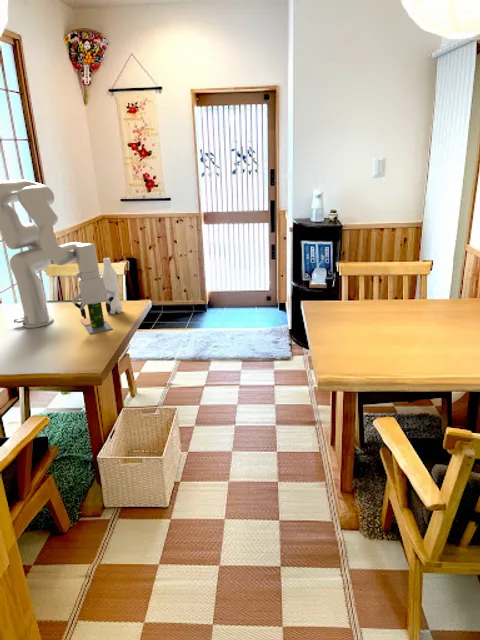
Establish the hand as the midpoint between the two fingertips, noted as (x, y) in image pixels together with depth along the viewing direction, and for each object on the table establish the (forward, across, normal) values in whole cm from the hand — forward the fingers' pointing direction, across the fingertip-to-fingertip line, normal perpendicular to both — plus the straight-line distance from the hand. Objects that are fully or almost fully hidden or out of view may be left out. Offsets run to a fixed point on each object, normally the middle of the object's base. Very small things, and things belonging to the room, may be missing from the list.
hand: (96, 315), depth 190 cm
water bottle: (+6, +11, +17) cm, 21 cm away
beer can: (+6, 0, 0) cm, 6 cm away
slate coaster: (+6, 0, 0) cm, 6 cm away
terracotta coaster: (+6, 0, +11) cm, 12 cm away
